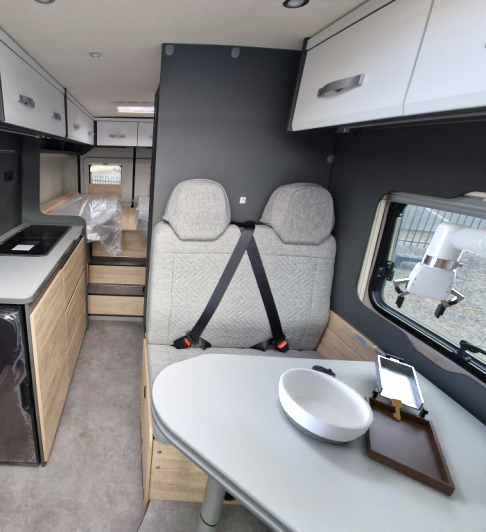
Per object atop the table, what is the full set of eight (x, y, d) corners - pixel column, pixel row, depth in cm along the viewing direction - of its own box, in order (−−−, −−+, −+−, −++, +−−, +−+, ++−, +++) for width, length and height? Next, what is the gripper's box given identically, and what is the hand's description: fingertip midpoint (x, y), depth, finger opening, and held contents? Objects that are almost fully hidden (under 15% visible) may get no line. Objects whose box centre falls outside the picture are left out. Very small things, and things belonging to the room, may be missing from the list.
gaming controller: (311, 365, 109) (328, 360, 106) (319, 378, 109) (337, 373, 106) (310, 380, 101) (328, 375, 98) (319, 394, 101) (338, 390, 98)
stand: (367, 399, 97) (373, 387, 95) (421, 421, 90) (428, 408, 88) (368, 403, 95) (374, 390, 94) (422, 425, 89) (429, 412, 87)
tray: (363, 401, 96) (366, 394, 95) (428, 427, 88) (432, 421, 87) (367, 456, 77) (370, 449, 76) (450, 496, 69) (455, 488, 68)
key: (391, 398, 92) (391, 397, 92) (401, 400, 91) (401, 400, 91) (392, 418, 89) (393, 418, 89) (403, 421, 88) (404, 421, 88)
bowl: (278, 437, 80) (287, 412, 77) (269, 381, 101) (275, 360, 98) (377, 466, 75) (390, 441, 72) (346, 401, 95) (355, 379, 92)
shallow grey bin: (374, 356, 112) (377, 349, 110) (408, 368, 107) (412, 361, 106) (378, 394, 94) (382, 386, 93) (419, 411, 89) (424, 402, 88)
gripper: (473, 267, 94) (449, 316, 100) (401, 253, 103) (383, 299, 108) (482, 273, 88) (455, 325, 94) (405, 258, 97) (385, 306, 103)
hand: (416, 311), depth 101 cm, fingers open, 9 cm apart
